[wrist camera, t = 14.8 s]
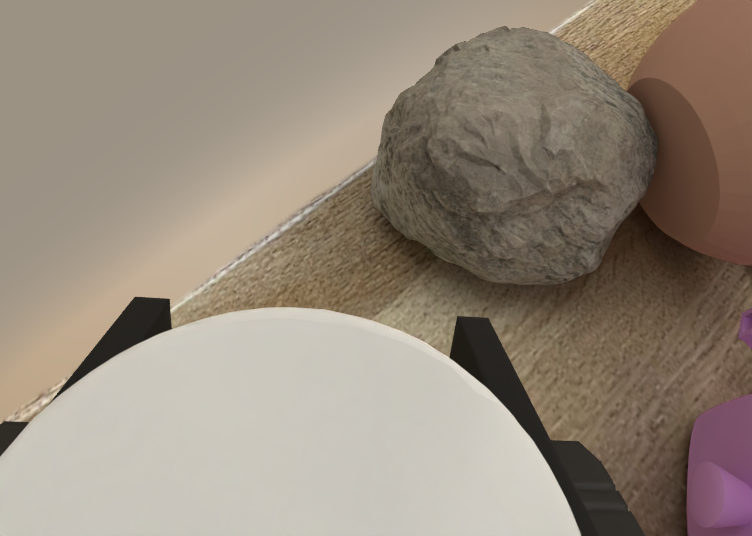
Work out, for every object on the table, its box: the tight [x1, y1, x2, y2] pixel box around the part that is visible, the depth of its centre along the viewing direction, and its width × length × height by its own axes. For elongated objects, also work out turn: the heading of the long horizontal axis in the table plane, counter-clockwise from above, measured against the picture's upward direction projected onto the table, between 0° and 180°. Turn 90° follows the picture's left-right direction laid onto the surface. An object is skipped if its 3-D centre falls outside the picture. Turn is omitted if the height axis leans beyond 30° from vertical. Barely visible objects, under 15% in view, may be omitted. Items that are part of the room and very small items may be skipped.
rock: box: [371, 26, 659, 285], centre depth 30 cm, size 15×16×10 cm
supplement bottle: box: [0, 307, 581, 536], centre depth 9 cm, size 7×7×13 cm
